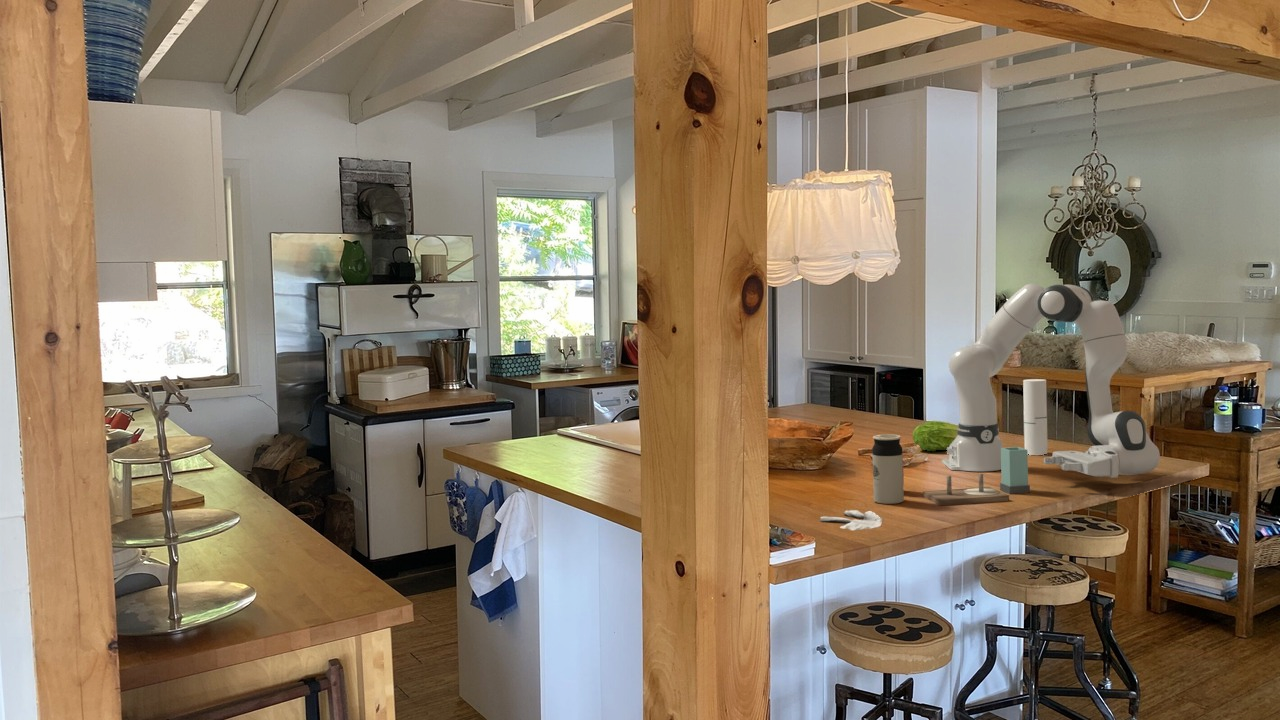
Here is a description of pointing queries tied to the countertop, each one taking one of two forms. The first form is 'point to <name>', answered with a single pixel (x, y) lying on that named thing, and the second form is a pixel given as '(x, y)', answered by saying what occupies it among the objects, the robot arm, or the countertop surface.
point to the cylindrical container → (1035, 416)
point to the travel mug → (887, 469)
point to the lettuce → (935, 435)
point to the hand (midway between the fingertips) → (1053, 464)
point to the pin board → (965, 494)
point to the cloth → (856, 524)
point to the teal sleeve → (1014, 470)
